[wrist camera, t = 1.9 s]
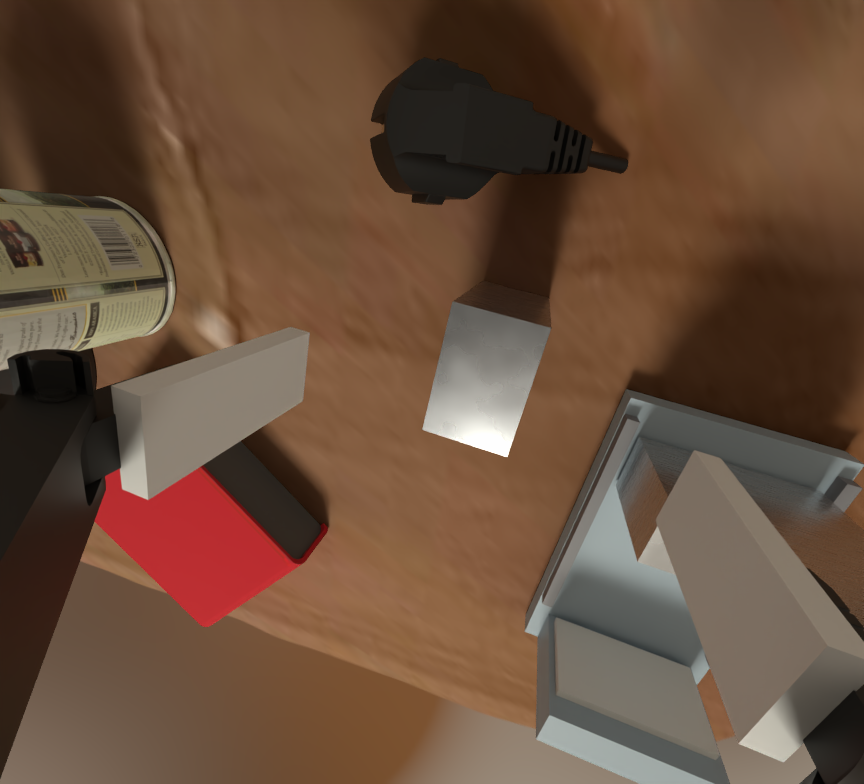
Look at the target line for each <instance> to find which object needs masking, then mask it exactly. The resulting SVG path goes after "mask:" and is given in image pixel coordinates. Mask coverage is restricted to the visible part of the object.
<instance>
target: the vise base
mask: <svg viewBox="0 0 864 784" xmlns="http://www.w3.org/2000/svg"><path fill="white" fill-rule="evenodd" d="M639 437H642V438H646V439H649V440H652V441H656V442H659V443H662V444H666V445H669V446H672V447H676V448H679V449H682V450H686V451H689V452H692V453H693V451H694V450H696V451H699V452H702V453H705V454H709V455H712V456H715V457H719V458H721V459H722V460H723V462H726V463H729V464H732V465H736V466H739V467H742V468H745V469H749V470H752V471H755V472H759V473H762V474H765V475H769V476H772V477H775V478H779V479H782V480H785V481H789V482H792V483H795V484H799V485H802V486H805V487H809V488H812V489H815V490H819V491H821V492H822V493H823V494H825V495H826V496H827V497H828V498H829V499H830V500H831V501H832V502H833V503H834V504H835V505H837V506H838V507H839V508H840V509H841V510H842V511H843V512H845V510H846V509H847V508H848V506H849V505H850V504H851V503H852V501H853V500H854V499H855V497H856V496H857V495H858V494H859V492H860V491H861V490H862V489H863V488H861V487H860V486H859V485H858V484H856V483H855V482H854V481H853V480H854V478H855V477H856V476H857V475H858V473H859V472H860V471H861V469H862V468H863V467H864V464H863V463H861V462H860V461H859V460H857V459H856V458H854V457H853V456H851V455H850V454H849V453H847V452H846V451H842V450H839V449H835V448H832V447H828V446H825V445H821V444H818V443H814V442H811V441H807V440H804V439H800V438H797V437H793V436H790V435H786V434H783V433H779V432H776V431H772V430H769V429H765V428H762V427H758V426H755V425H751V424H748V423H744V422H741V421H737V420H734V419H730V418H727V417H723V416H719V415H716V414H712V413H709V412H705V411H702V410H698V409H695V408H691V407H688V406H684V405H681V404H677V403H674V402H670V401H667V400H663V399H660V398H656V397H653V396H649V395H646V394H642V393H639V392H635V391H632V390H628V389H626V390H625V393H624V395H623V397H622V399H621V402H620V404H619V406H618V408H617V411H616V413H615V415H614V418H613V420H612V422H611V424H610V427H609V429H608V431H607V433H606V436H605V438H604V440H603V442H602V445H601V447H600V449H599V451H598V454H597V456H596V458H595V460H594V463H593V465H592V467H591V469H590V472H589V474H588V476H587V478H586V481H585V483H584V485H583V487H582V490H581V492H580V494H579V496H578V499H577V501H576V503H575V505H574V508H573V510H572V512H571V514H570V517H569V519H568V521H567V523H566V526H565V528H564V530H563V532H562V535H561V537H560V539H559V541H558V544H557V546H556V548H555V550H554V553H553V555H552V557H551V559H550V562H549V564H548V566H547V568H546V571H545V573H544V575H543V577H542V580H541V582H540V584H539V586H538V589H537V591H536V593H535V595H534V598H533V600H532V602H531V604H530V607H529V609H528V611H527V613H526V619H525V632H527V633H530V634H533V635H535V636H538V653H537V709H536V740H539V741H541V742H543V743H546V744H548V745H550V746H553V747H555V748H558V749H560V750H562V751H564V752H567V753H569V754H572V755H574V756H576V757H579V758H581V759H583V760H586V761H588V762H590V763H593V764H595V765H597V766H600V767H602V768H604V769H607V770H609V771H611V772H614V773H616V774H618V775H621V776H623V777H625V778H628V779H630V780H632V781H635V782H637V783H640V784H730V782H729V779H728V776H727V773H726V770H725V767H724V765H723V762H722V759H721V756H720V753H719V750H718V747H717V744H716V741H715V738H714V735H713V732H712V729H711V726H710V723H709V720H708V717H707V715H706V712H705V709H704V706H703V703H702V700H701V697H700V694H699V691H698V688H697V684H698V683H699V682H700V680H701V679H702V678H703V676H704V675H705V674H706V672H707V671H708V670H709V669H710V666H709V663H708V660H707V658H706V655H705V652H704V650H703V647H702V644H701V642H700V639H699V636H698V634H697V631H696V628H695V625H694V623H693V620H692V617H691V615H690V612H689V609H688V607H687V604H686V601H685V599H684V596H683V593H682V590H681V588H680V585H679V582H678V580H677V577H676V575H674V574H671V573H668V572H665V571H663V570H660V569H657V568H654V567H651V566H648V565H645V564H642V563H639V562H637V558H636V555H635V551H634V548H633V544H632V541H631V537H630V534H629V530H628V527H627V524H626V520H625V517H624V513H623V510H622V506H621V503H620V499H619V496H618V492H617V489H616V483H617V481H618V479H619V477H620V475H621V473H622V471H623V469H624V467H625V465H626V463H627V461H628V459H629V457H630V454H631V452H632V450H633V448H634V446H635V444H636V442H637V440H638V438H639Z"/></svg>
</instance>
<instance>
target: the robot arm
mask: <svg viewBox="0 0 864 784" xmlns="http://www.w3.org/2000/svg"><path fill="white" fill-rule="evenodd" d="M309 334H310V333H309V332H306V331H303V330H299V329H296V328H293V327H289V328H286V329H283V330H280V331H277V332H274V333H271V334H268V335H265V336H261V337H258V338H255V339H252V340H249V341H246V342H243V343H240V344H237V345H234V346H231V347H228V348H225V349H222V350H219V351H216V352H213V353H210V354H206V355H203V356H200V357H197V358H194V359H191V360H188V361H185V362H182V363H179V364H176V365H171V366H167V367H164V368H161V369H158V370H155V372H149V373H146V374H143V375H141V376H139V377H138V376H137V377H134V378H131V379H128V380H124V381H121V382H118V383H115V384H112V385H109V386H106V387H103V388H100V389H97V390H95V387H96V369H95V362H94V357H93V353H92V350H91V348H89V349H85V350H81V351H74V350H64V349H42V350H33V351H27V352H23V353H19V354H15V355H13V356H11V357H10V358H8V359H7V362H8V367H9V369H5V370H1V371H0V778H1V775H2V772H3V770H4V767H5V764H6V762H7V759H8V756H9V753H10V751H11V748H12V745H13V742H14V739H15V737H16V734H17V731H18V729H19V726H20V723H21V720H22V718H23V715H24V712H25V710H26V707H27V704H28V701H29V699H30V696H31V693H32V690H33V688H34V685H35V682H36V680H37V677H38V674H39V671H40V669H41V666H42V663H43V660H44V658H45V655H46V652H47V649H48V647H49V644H50V641H51V638H52V636H53V633H54V630H55V628H56V625H57V622H58V619H59V617H60V614H61V611H62V608H63V606H64V603H65V600H66V597H67V595H68V592H69V589H70V586H71V584H72V581H73V578H74V576H75V573H76V570H77V567H78V565H79V562H80V559H81V557H82V554H83V551H84V548H85V546H86V543H87V540H88V537H89V535H90V532H91V529H92V526H93V524H94V521H95V518H96V516H97V513H98V510H99V507H100V505H101V502H102V499H103V496H104V494H105V491H106V481H105V476H106V475H108V474H110V473H112V472H114V471H116V470H118V469H120V475H121V484H122V489H123V490H125V491H128V492H130V493H133V494H135V495H137V496H140V497H142V498H145V499H147V500H149V499H151V498H152V497H154V496H155V495H157V494H158V493H160V492H162V491H163V490H165V489H166V488H168V487H169V486H171V485H173V484H174V483H176V482H177V481H179V480H180V479H182V478H183V477H185V476H187V475H188V474H190V473H191V472H193V471H194V470H196V469H198V468H199V467H201V466H202V465H204V464H205V463H207V462H208V461H210V460H212V459H213V458H215V457H216V456H218V455H219V454H221V453H222V452H224V451H226V450H227V449H229V448H230V447H232V446H233V445H235V444H237V443H238V442H240V441H241V440H243V439H244V438H246V437H247V436H249V435H251V434H252V433H254V432H255V431H257V430H258V429H260V428H262V427H263V426H265V425H266V424H268V423H269V422H271V421H272V420H274V419H276V418H277V417H279V416H280V415H282V414H283V413H285V412H286V411H288V410H290V409H291V408H293V407H294V406H296V405H297V404H299V403H301V402H302V401H303V395H304V385H305V375H306V365H307V354H308V344H309ZM656 523H657V526H658V528H659V531H660V534H661V537H662V539H663V542H664V545H665V547H666V550H667V553H668V555H669V558H670V561H671V563H672V566H673V569H674V572H675V574H676V577H677V580H678V582H679V585H680V588H681V590H682V593H683V596H684V599H685V601H686V604H687V607H688V609H689V612H690V615H691V617H692V620H693V623H694V625H695V628H696V631H697V634H698V636H699V639H700V642H701V644H702V647H703V650H704V652H705V655H706V658H707V660H708V663H709V666H710V669H711V671H712V674H713V677H714V679H715V682H716V685H717V687H718V690H719V693H720V695H721V698H722V701H723V704H724V706H725V709H726V712H727V714H728V717H729V720H730V722H731V725H732V728H733V731H734V733H735V736H736V738H737V741H738V743H739V744H740V745H743V746H745V747H748V748H750V749H752V750H755V751H757V752H760V753H762V754H765V755H767V756H770V757H772V758H774V759H777V760H779V761H782V762H785V761H786V759H788V758H789V757H790V756H791V755H792V754H793V753H794V752H795V751H796V750H797V749H798V748H799V747H800V746H801V745H802V744H803V743H804V744H805V746H806V748H807V750H808V752H809V754H810V756H811V758H812V759H813V762H814V763H815V765H816V769H815V770H814V771H813V772H812V773H811V774H810V775H809V776H808V777H806V778H805V779H804V780H803V781H802V782H801V783H800V784H864V627H863V625H862V624H861V623H860V622H859V621H858V619H857V618H856V617H855V616H854V614H851V613H850V609H849V608H848V607H847V606H846V604H845V603H844V602H843V601H842V599H841V598H840V597H839V596H838V595H837V593H836V592H835V591H834V590H833V589H832V588H831V587H830V586H829V585H828V584H826V583H825V582H824V581H823V580H822V579H821V578H820V577H818V576H817V575H816V574H815V573H814V572H813V571H811V570H810V569H809V568H806V567H805V566H804V564H803V563H802V562H801V561H800V559H799V558H798V557H797V555H796V554H795V553H794V552H793V550H792V549H791V548H790V546H789V545H788V544H787V543H786V541H785V540H784V539H783V537H782V536H781V535H780V534H779V532H778V531H777V530H776V528H775V527H774V526H773V525H772V523H771V522H770V521H769V519H768V518H767V517H766V516H765V514H764V513H763V512H762V510H761V509H760V508H759V507H758V505H757V504H756V503H755V501H754V500H753V499H752V498H751V496H750V495H749V494H748V492H747V491H746V490H745V489H744V487H743V486H742V485H741V483H740V482H739V481H738V480H737V478H736V477H735V476H734V474H733V473H732V472H731V471H730V469H729V468H728V467H727V466H726V464H725V463H724V462H723V460H722V459H721V458H719V457H715V456H712V455H709V454H705V453H702V452H699V451H696V450H694V451H693V453H692V455H691V457H690V458H689V460H688V462H687V464H686V466H685V467H684V469H683V471H682V473H681V475H680V476H679V478H678V480H677V482H676V484H675V485H674V487H673V489H672V491H671V493H670V494H669V496H668V498H667V500H666V502H665V504H664V505H663V507H662V509H661V511H660V513H659V514H658V516H657V518H656Z"/></svg>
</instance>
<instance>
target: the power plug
mask: <svg viewBox="0 0 864 784" xmlns="http://www.w3.org/2000/svg"><path fill="white" fill-rule="evenodd" d="M371 121H372V122H376V123H381V124H382V132H381V134H379V135H377V136H375V137H373V138H371V139H370V142H371V149H372V154H373V157H374V161H375V163H376V166H377V168H378V170H379V172H380V174H381V176H382V177H383V179H384V180H385V182H386V183H387V184H388V185H389V187H390V188H391V189H393V190H394V191H395V192H398V193H404V194H411V195H412V202H413V203H420V204H433V205H442V204H443V202H444V200H445V199H468V198H470V197H471V196H473V195H474V194H476V193H477V192H478V191H479V190H480V189H481V188H482V187H483V186H484V185H485V184H486V183H487V182H488V181H489V180H490V179H491V178H492V177H493V176H494V175H495V174H497V173H499V172H502V173H507V174H513V175H520V174H575V173H583V172H585V171H586V170H587V167H588V166H589V167H593V168H598V169H602V170H607V171H611V172H616V173H620V174H621V173H623V172H625V170H626V169H627V167H628V160H627V159H624V158H620V157H616V156H612V155H607V154H603V153H599V152H595V151H591V149H592V145H593V141H592V139H591V138H590V137H588V136H586V135H582V133H581V132H579V131H578V130H574V129H573V128H572V127H571V126H569V125H567V126H566V125H565V123H564V122H562V121H560V120H559V121H557V119H556V118H555V117H553V116H550V115H546V114H543V113H539V112H535V110H533V102H531V101H527V100H524V99H520V98H516V97H513V96H509V95H506V94H502V93H499V92H495V91H493V90H492V88H491V86H490V85H489V83H488V82H487V80H486V79H485V77H484V76H483V75H481V74H478V73H475V72H471V71H468V70H465V69H461V68H459V67H458V64H457V63H454V62H451V61H448V60H444V59H441V58H439V59H438V60H436V61H435V60H431V59H428V58H425V57H424V58H422V59H421V60H419V61H417V62H415V63H414V64H413V65H412V66H410V67H409V68H408V69H407V70H405V71H404V72H403V73H401V74H400V75H399V76H398V77H396V78H395V79H394V80H392V81H391V82H390V83H389V84H388V85H387V86H386V87H385V89H384V90H383V91H382V93H381V94H380V96H379V98H378V100H377V102H376V104H375V107H374V110H373V113H372V118H371Z"/></svg>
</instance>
